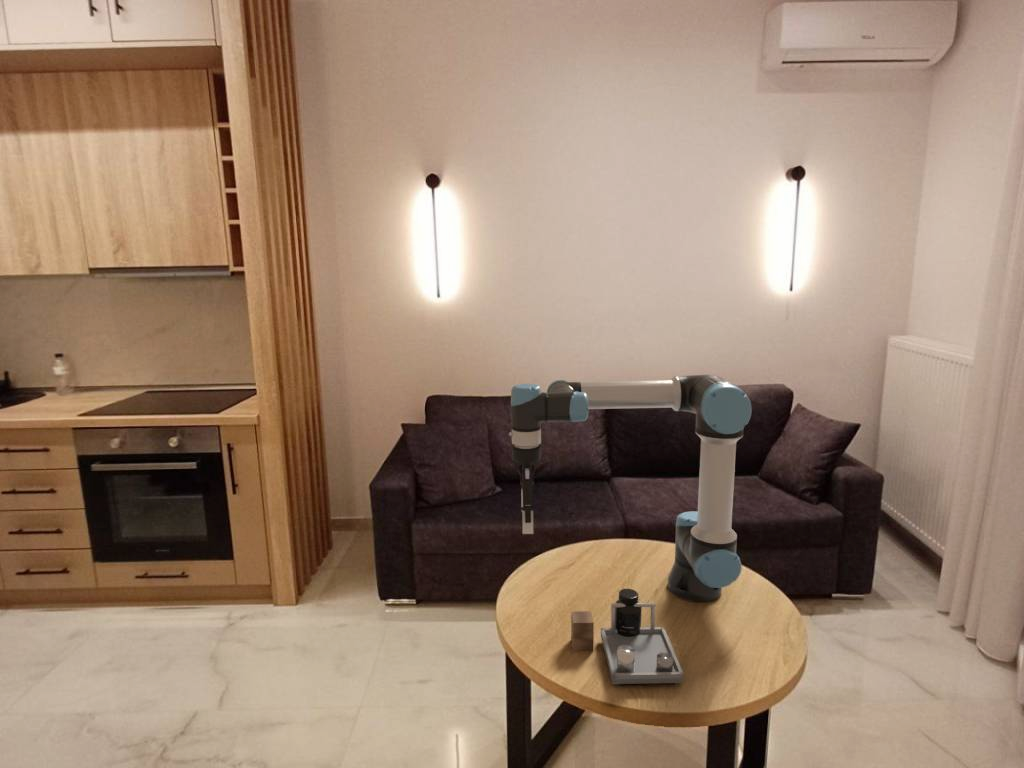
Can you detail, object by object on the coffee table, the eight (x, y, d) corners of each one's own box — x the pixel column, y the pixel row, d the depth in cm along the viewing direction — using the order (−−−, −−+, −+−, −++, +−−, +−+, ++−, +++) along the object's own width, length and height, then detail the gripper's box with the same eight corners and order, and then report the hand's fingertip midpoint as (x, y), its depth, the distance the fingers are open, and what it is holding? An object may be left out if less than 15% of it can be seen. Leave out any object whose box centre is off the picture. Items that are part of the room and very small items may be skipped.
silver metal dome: (670, 663, 143) (670, 652, 143) (674, 674, 140) (674, 662, 139) (654, 664, 143) (655, 652, 143) (658, 674, 140) (658, 662, 139)
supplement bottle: (624, 646, 153) (625, 603, 151) (608, 632, 159) (608, 590, 156) (646, 638, 156) (647, 595, 154) (629, 625, 162) (630, 583, 160)
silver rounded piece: (632, 664, 143) (632, 644, 142) (635, 675, 140) (636, 655, 139) (615, 664, 143) (615, 645, 142) (618, 675, 140) (618, 656, 139)
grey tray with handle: (663, 638, 157) (664, 601, 154) (683, 687, 139) (684, 645, 137) (600, 640, 157) (601, 602, 154) (612, 688, 139) (613, 647, 137)
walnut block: (590, 639, 157) (591, 611, 155) (593, 651, 152) (593, 622, 150) (571, 639, 157) (571, 611, 155) (573, 652, 152) (573, 623, 150)
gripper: (511, 431, 169) (512, 503, 173) (511, 460, 145) (513, 543, 149) (538, 430, 169) (539, 503, 173) (543, 459, 145) (544, 543, 149)
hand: (527, 522), depth 161 cm, fingers open, 13 cm apart
